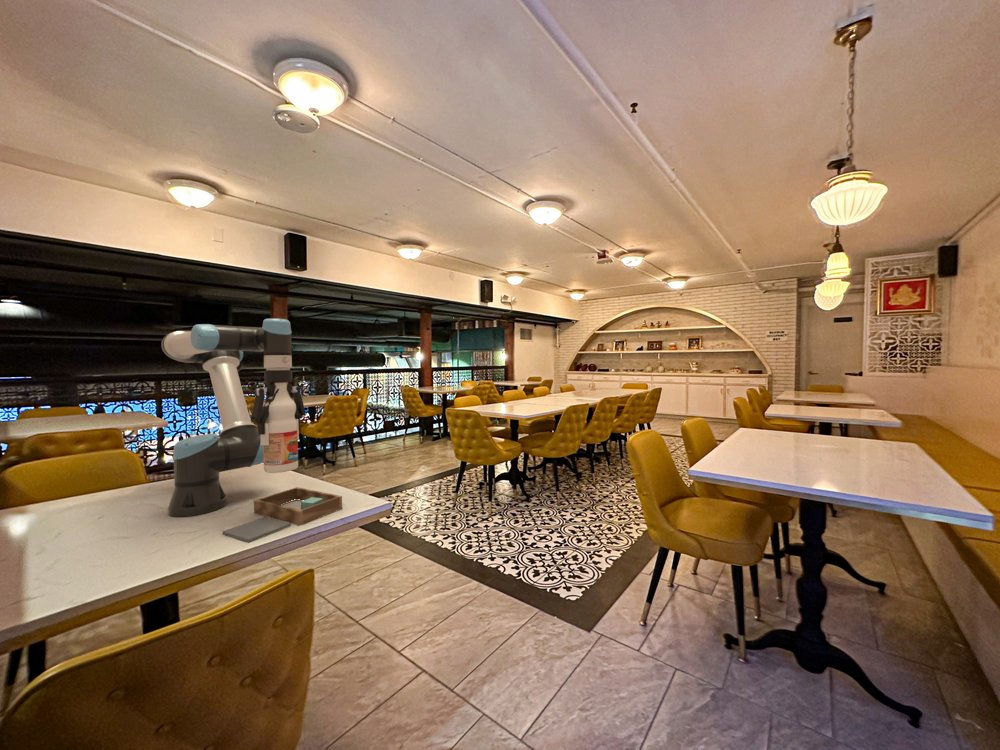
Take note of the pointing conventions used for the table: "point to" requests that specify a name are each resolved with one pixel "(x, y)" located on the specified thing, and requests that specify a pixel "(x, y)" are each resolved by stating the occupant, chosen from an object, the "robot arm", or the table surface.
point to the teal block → (310, 502)
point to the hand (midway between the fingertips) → (280, 441)
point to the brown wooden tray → (274, 509)
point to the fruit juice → (281, 433)
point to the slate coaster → (256, 529)
